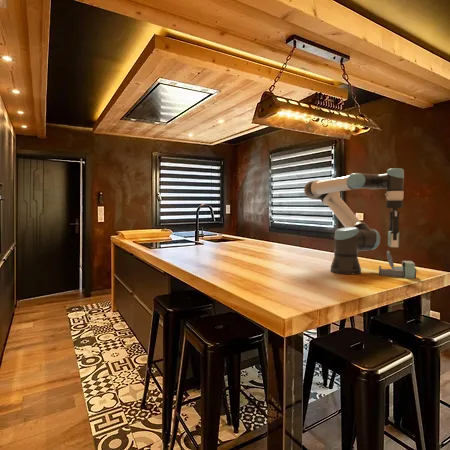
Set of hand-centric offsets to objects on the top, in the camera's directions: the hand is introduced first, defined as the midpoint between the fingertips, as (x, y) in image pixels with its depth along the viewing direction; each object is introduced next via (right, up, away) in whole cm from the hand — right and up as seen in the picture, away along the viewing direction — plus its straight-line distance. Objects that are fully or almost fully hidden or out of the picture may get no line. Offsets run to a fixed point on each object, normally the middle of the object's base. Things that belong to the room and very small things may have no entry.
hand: (393, 245), depth 160 cm
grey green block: (0, 0, 0) cm, 0 cm away
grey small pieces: (+12, -15, +13) cm, 23 cm away
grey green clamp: (+2, -15, 0) cm, 15 cm away
